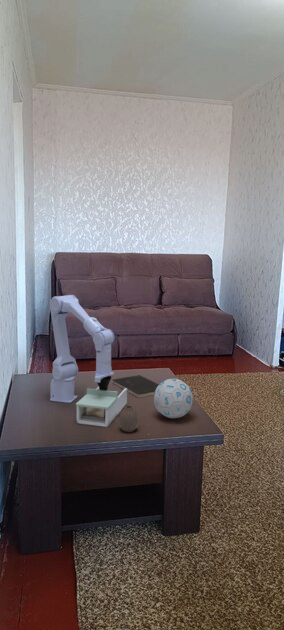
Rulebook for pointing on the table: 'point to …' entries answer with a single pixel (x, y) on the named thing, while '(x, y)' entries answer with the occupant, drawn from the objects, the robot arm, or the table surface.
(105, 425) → the housing
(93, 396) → the lid
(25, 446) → the table surface
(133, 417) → the vase
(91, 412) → the tan rectangular block
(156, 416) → the table surface
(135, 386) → the hardcover book
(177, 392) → the puzzle ball
